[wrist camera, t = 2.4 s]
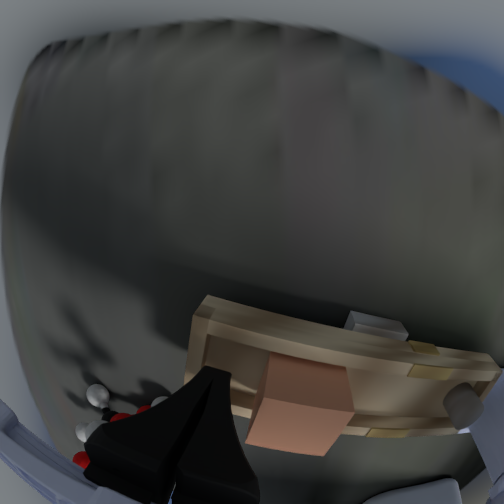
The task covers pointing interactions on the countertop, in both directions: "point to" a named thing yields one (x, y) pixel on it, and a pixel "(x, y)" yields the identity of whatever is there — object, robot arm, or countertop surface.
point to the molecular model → (100, 399)
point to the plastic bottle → (422, 494)
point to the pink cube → (300, 405)
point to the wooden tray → (348, 367)
